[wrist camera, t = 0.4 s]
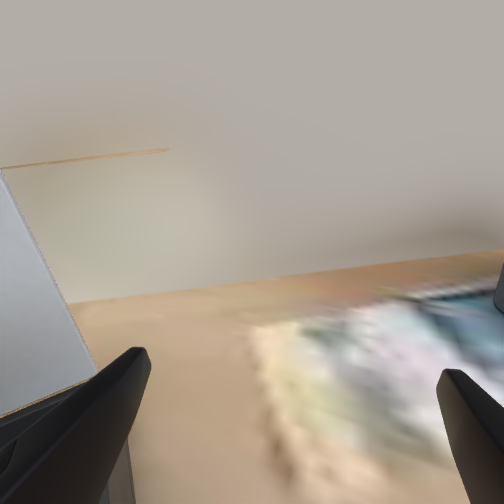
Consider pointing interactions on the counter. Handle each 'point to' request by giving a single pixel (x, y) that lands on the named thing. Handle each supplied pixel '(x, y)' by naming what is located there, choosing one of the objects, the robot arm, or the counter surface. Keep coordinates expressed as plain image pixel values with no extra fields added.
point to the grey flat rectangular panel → (33, 319)
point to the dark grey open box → (11, 426)
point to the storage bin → (500, 292)
